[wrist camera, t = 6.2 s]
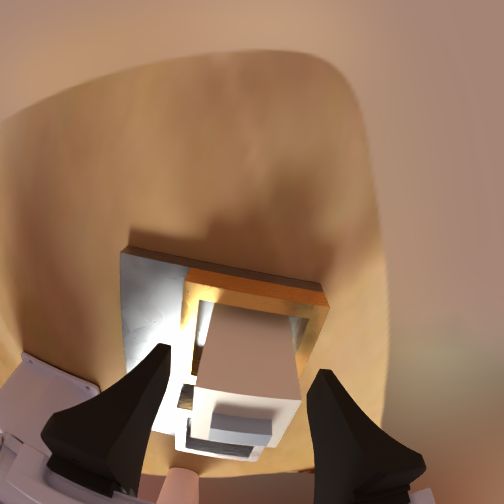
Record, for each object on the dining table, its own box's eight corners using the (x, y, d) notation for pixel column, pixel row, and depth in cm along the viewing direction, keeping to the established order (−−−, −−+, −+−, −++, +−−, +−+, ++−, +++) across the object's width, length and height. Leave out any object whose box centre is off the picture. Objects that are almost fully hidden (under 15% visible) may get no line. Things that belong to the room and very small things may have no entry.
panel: (138, 417, 21) (131, 437, 18) (127, 245, 15) (107, 263, 12) (256, 440, 21) (256, 461, 19) (319, 283, 15) (330, 307, 13)
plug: (206, 355, 16) (187, 450, 10) (214, 302, 15) (190, 403, 8) (271, 366, 16) (276, 460, 10) (288, 314, 15) (304, 416, 9)
